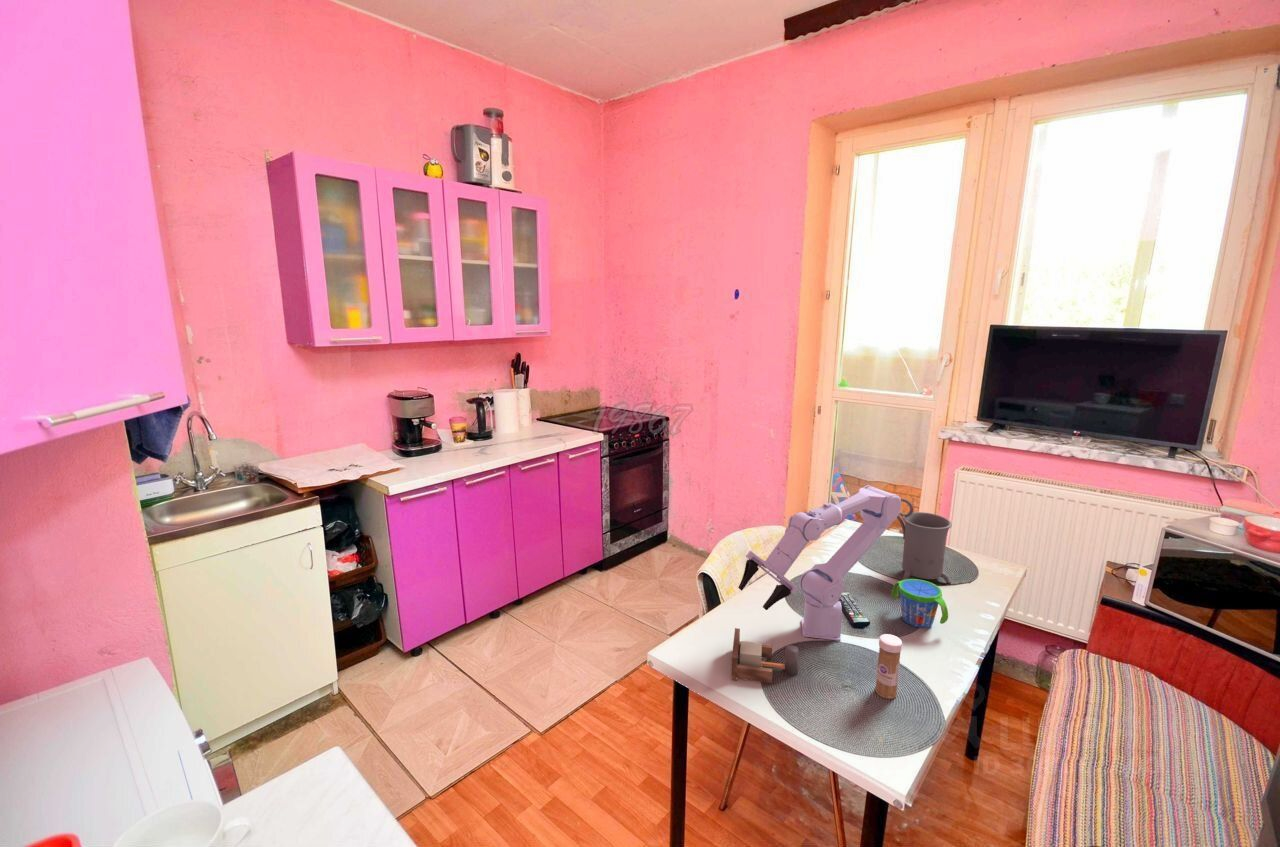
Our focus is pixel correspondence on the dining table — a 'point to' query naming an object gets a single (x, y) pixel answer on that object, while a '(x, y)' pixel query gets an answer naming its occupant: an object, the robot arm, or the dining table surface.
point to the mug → (924, 544)
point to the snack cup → (920, 602)
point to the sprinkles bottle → (888, 666)
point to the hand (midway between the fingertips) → (752, 599)
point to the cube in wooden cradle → (750, 671)
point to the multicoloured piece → (752, 657)
